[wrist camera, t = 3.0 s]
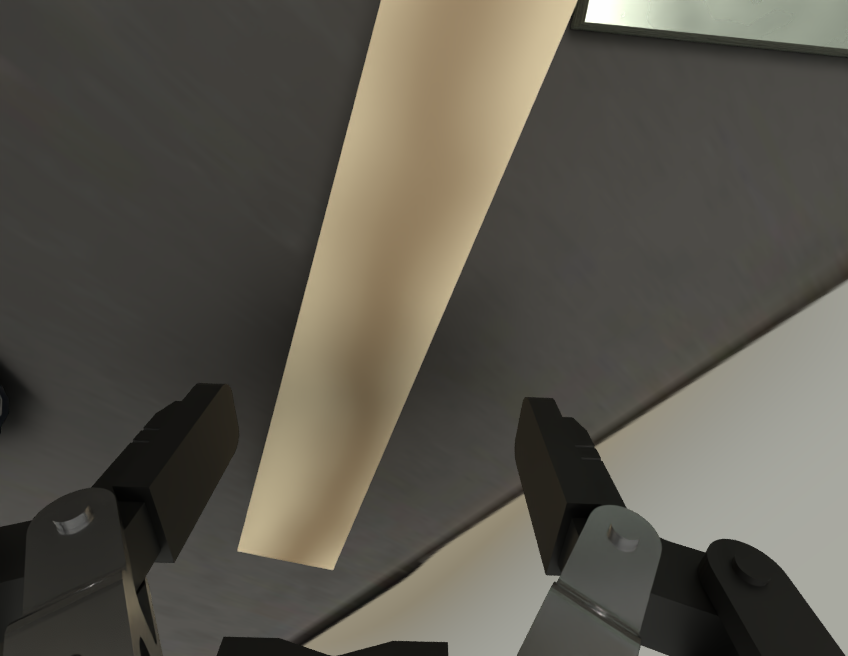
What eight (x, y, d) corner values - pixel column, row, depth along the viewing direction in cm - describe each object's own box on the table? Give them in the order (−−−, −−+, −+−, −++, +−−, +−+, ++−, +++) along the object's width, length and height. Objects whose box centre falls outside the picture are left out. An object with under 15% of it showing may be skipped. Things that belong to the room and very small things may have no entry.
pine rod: (266, 475, 26) (237, 551, 22) (425, -100, 14) (431, -193, 10) (345, 494, 27) (332, 570, 23) (556, -33, 15) (616, -90, 11)
